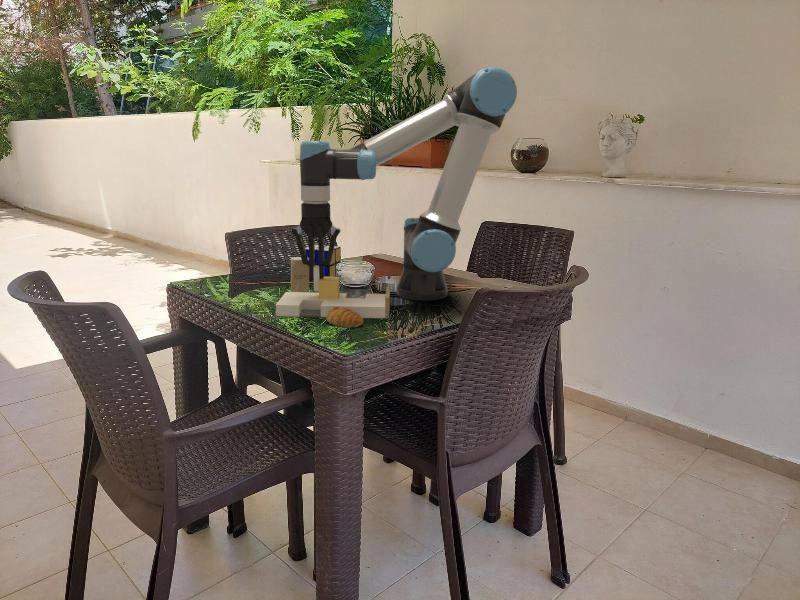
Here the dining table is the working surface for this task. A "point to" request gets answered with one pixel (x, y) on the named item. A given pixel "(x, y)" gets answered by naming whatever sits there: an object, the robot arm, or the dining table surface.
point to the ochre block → (329, 288)
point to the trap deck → (333, 304)
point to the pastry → (344, 317)
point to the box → (299, 275)
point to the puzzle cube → (328, 269)
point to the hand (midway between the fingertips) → (317, 289)
